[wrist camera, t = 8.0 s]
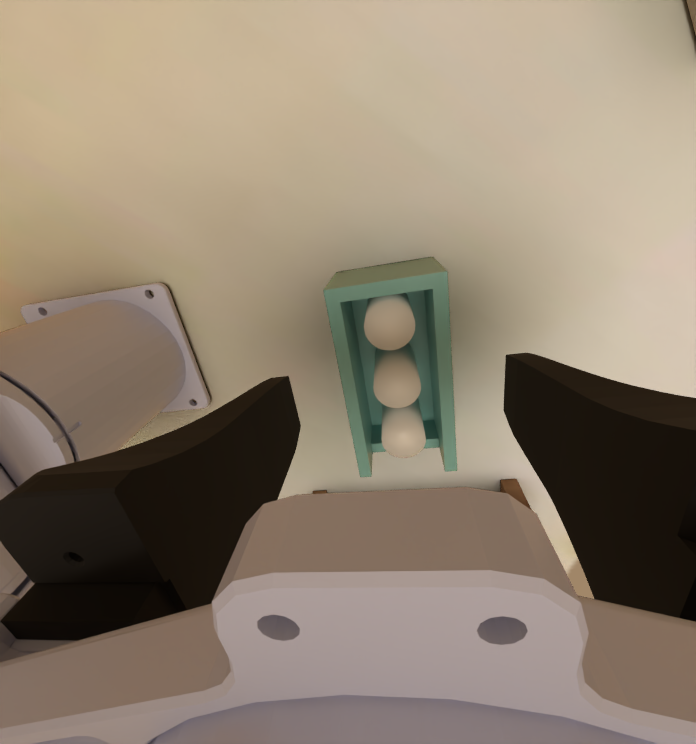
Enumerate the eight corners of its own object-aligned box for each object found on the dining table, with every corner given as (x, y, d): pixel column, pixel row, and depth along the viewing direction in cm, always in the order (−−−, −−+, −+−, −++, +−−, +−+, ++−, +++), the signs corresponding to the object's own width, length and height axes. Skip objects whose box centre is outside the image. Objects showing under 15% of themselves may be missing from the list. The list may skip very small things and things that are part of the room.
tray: (364, 428, 22) (360, 477, 18) (336, 272, 18) (323, 290, 14) (443, 421, 22) (457, 470, 18) (432, 256, 18) (447, 271, 14)
